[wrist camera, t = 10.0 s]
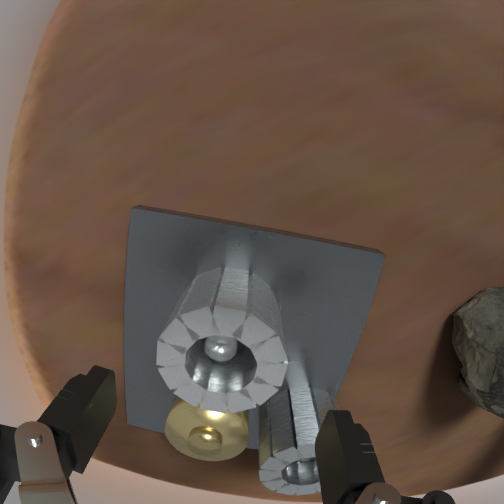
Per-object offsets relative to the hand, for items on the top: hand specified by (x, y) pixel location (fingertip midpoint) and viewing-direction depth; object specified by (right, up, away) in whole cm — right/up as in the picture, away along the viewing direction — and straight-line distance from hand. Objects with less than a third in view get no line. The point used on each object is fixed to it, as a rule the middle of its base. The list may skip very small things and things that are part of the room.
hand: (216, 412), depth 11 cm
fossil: (+21, -1, +9) cm, 23 cm away
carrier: (0, 0, +9) cm, 9 cm away
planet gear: (0, +2, +7) cm, 8 cm away
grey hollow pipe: (+4, -5, +9) cm, 12 cm away
